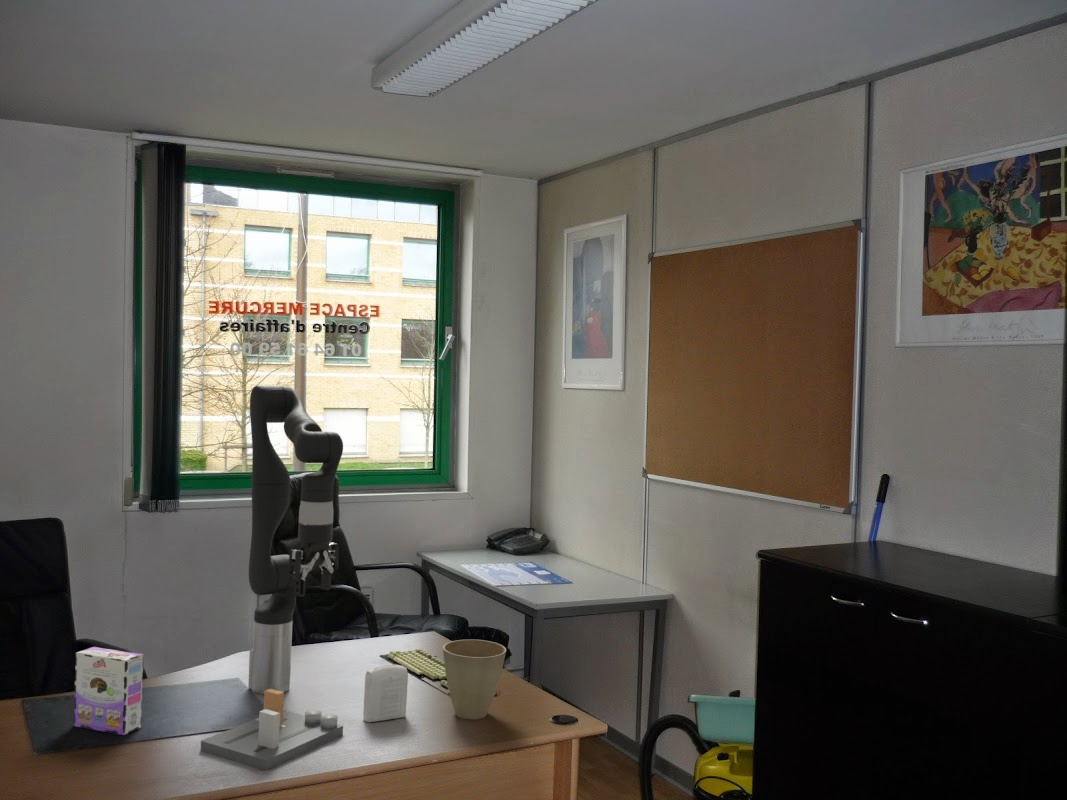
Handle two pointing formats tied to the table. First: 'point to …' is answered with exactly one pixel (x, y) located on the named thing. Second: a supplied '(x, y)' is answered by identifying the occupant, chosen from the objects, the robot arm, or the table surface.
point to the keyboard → (420, 665)
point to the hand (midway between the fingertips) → (312, 592)
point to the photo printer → (385, 693)
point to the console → (274, 737)
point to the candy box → (108, 690)
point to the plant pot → (473, 675)
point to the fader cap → (274, 702)
